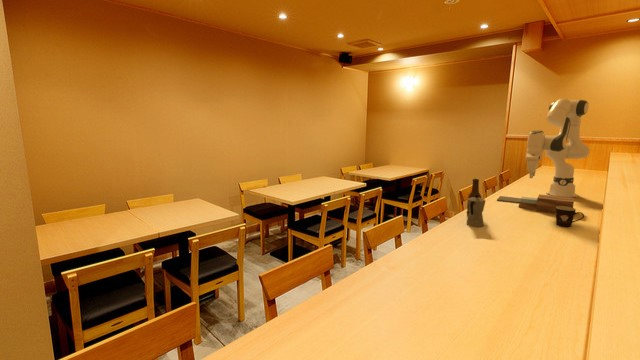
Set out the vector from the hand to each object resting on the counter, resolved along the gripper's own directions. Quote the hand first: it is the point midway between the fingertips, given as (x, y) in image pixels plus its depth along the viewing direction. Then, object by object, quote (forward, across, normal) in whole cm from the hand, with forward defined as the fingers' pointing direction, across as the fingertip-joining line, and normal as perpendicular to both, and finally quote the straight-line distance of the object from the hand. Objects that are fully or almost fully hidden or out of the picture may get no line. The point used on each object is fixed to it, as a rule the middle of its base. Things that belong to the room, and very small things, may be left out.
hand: (532, 177), depth 201 cm
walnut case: (+21, 0, +8) cm, 22 cm away
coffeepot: (+22, +55, -20) cm, 63 cm away
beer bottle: (+22, +40, -24) cm, 52 cm away
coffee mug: (+22, +29, +21) cm, 42 cm away
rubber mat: (+20, -15, -8) cm, 27 cm away
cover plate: (+17, 0, +5) cm, 18 cm away
